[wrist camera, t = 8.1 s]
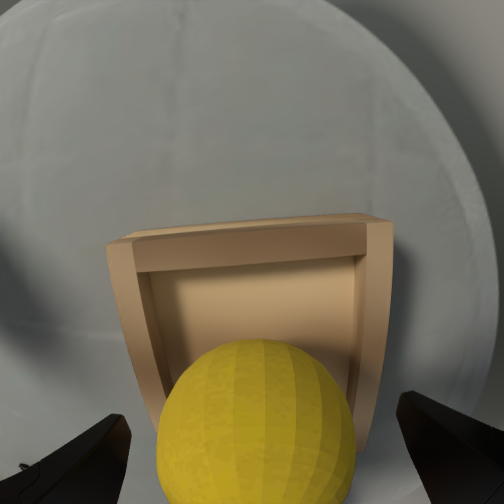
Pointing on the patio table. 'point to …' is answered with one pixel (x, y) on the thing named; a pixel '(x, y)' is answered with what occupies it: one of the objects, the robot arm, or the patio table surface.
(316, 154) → the patio table surface
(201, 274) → the wooden tray
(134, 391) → the patio table surface
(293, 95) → the patio table surface
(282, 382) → the lemon
